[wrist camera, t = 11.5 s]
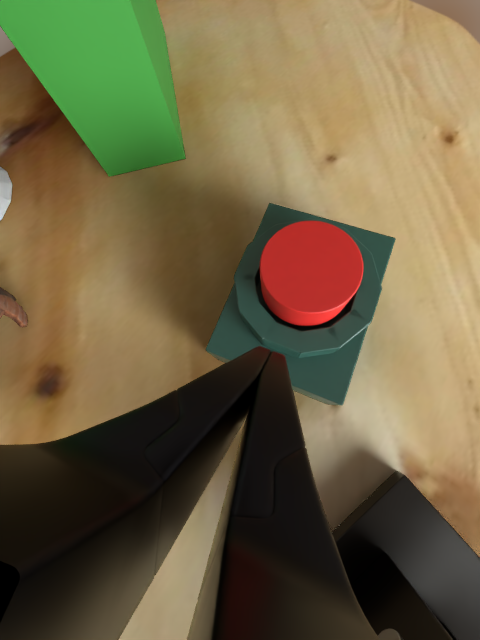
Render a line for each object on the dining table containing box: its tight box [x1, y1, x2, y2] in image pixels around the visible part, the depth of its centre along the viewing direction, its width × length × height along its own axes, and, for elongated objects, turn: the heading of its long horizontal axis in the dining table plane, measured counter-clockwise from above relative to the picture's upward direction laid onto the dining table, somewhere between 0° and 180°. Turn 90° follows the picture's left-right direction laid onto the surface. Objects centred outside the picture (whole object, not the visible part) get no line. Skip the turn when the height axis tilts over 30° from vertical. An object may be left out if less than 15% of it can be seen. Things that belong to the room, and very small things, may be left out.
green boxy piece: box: [206, 203, 395, 405], centre depth 19 cm, size 11×8×6 cm
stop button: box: [260, 221, 363, 326], centre depth 15 cm, size 5×5×2 cm
